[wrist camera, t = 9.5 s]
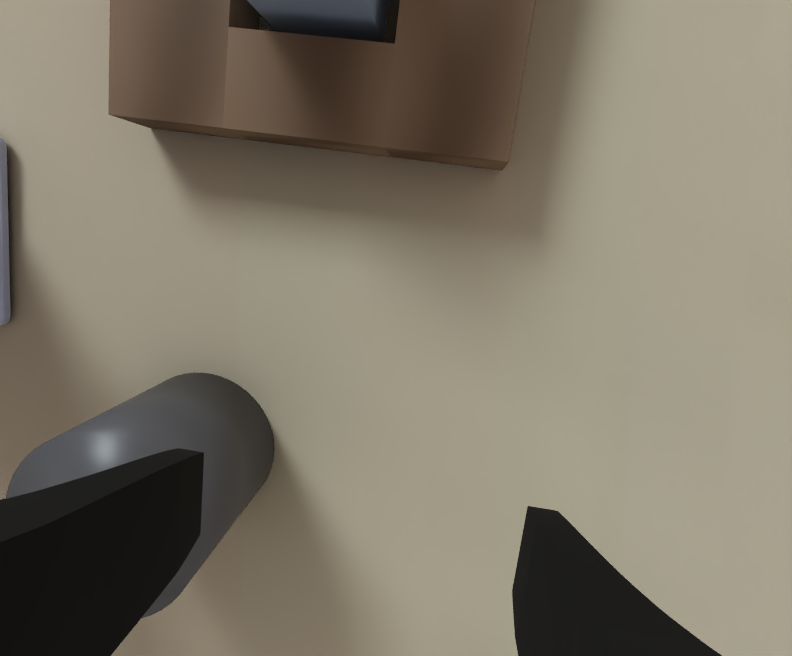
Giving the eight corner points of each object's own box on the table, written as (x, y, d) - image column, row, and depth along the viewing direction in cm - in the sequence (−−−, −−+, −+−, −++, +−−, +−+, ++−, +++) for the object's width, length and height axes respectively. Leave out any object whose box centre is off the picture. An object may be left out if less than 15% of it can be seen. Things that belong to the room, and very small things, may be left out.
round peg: (138, 501, 24) (13, 608, 17) (133, 367, 23) (-4, 424, 16) (273, 515, 23) (199, 632, 16) (274, 378, 22) (195, 442, 15)
